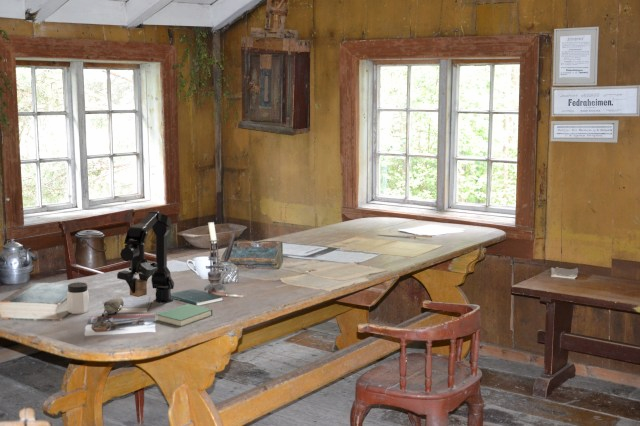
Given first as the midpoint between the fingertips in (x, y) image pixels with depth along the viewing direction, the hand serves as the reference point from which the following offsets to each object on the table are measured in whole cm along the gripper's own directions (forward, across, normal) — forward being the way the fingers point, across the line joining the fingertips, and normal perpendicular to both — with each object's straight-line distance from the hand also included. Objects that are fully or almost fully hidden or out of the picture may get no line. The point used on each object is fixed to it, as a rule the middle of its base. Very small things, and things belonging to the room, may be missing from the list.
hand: (138, 291), depth 351 cm
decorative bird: (+12, -2, +13) cm, 18 cm away
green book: (+12, +12, -16) cm, 23 cm away
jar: (+12, -9, +27) cm, 31 cm away
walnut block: (+1, 0, 0) cm, 1 cm away
